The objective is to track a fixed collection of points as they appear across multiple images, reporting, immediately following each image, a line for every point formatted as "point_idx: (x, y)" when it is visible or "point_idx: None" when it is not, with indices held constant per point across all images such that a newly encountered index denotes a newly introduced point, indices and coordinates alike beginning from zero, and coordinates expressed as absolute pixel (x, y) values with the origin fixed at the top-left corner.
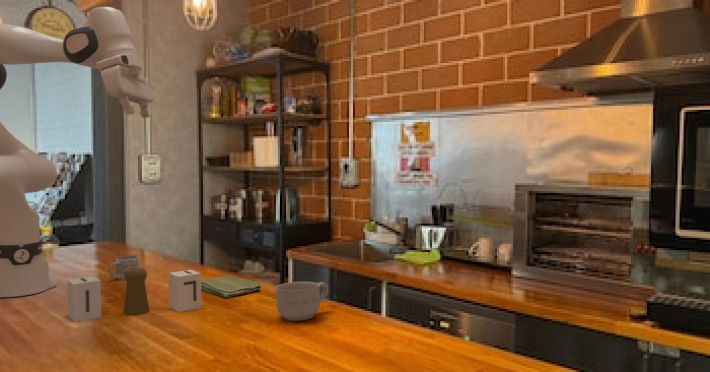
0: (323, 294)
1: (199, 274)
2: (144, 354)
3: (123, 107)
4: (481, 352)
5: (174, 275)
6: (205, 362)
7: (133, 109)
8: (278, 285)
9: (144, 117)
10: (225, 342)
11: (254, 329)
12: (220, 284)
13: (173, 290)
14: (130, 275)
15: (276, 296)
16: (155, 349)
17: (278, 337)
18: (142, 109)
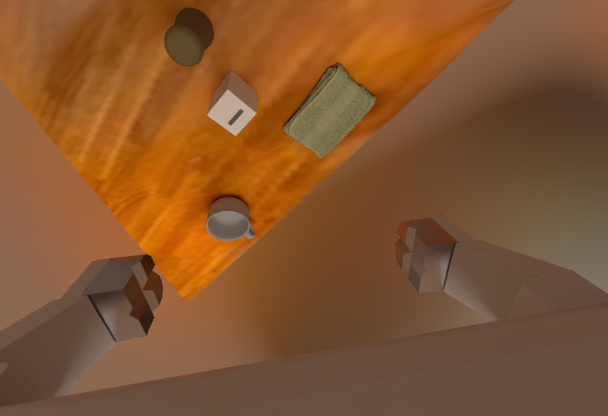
0: (249, 230)
1: (234, 134)
2: (69, 123)
3: (50, 304)
4: (194, 287)
5: (214, 105)
6: (89, 177)
7: (152, 314)
8: (231, 211)
9: (398, 234)
10: (140, 175)
11: (184, 185)
12: (308, 117)
13: (219, 92)
14: (165, 47)
15: (217, 208)
16: (87, 126)
17: (172, 205)
18: (486, 270)
